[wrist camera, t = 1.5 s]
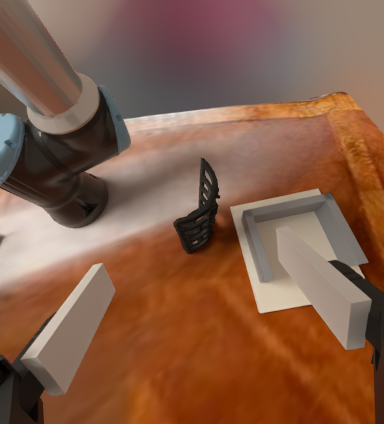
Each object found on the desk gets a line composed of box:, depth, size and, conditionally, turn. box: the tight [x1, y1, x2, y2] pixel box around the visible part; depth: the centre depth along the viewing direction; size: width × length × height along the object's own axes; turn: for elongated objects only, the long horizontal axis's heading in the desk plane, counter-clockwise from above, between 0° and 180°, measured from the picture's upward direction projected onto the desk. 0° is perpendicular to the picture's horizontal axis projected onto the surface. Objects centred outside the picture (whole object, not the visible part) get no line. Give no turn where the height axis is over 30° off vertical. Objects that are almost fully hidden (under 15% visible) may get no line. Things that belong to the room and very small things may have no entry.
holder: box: [173, 158, 220, 254], centre depth 34 cm, size 11×8×20 cm
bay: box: [230, 189, 369, 313], centre depth 37 cm, size 22×20×6 cm
